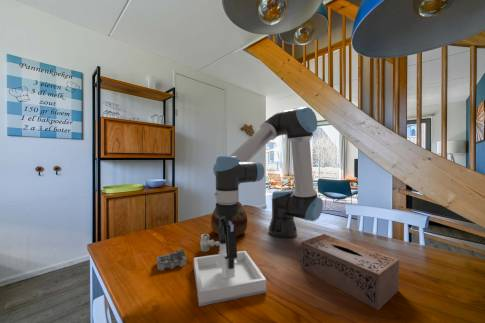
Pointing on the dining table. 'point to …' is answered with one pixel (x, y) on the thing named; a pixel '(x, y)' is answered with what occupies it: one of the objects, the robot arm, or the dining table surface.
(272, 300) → the dining table surface
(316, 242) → the tissue box cover
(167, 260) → the grey open frame part
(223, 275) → the pipe fitting
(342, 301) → the dining table surface
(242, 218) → the brown vase
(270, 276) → the dining table surface
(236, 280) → the tray
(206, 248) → the valve
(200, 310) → the dining table surface
